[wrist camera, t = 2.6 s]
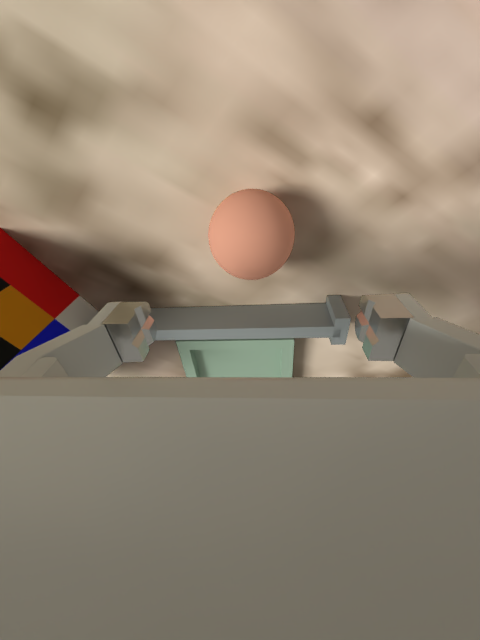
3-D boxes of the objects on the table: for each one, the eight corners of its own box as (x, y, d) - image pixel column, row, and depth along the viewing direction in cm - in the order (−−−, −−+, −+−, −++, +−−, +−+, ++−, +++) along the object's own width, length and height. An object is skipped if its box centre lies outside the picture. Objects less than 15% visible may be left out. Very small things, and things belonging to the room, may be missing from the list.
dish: (180, 330, 23) (175, 341, 22) (292, 328, 22) (294, 339, 21) (199, 398, 29) (196, 410, 28) (288, 399, 28) (289, 411, 27)
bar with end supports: (108, 302, 22) (90, 324, 19) (340, 295, 20) (350, 318, 17) (119, 324, 23) (102, 347, 21) (335, 319, 21) (345, 344, 19)
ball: (209, 184, 16) (192, 204, 12) (292, 178, 15) (303, 196, 11) (220, 260, 19) (209, 296, 15) (289, 257, 18) (297, 294, 14)
